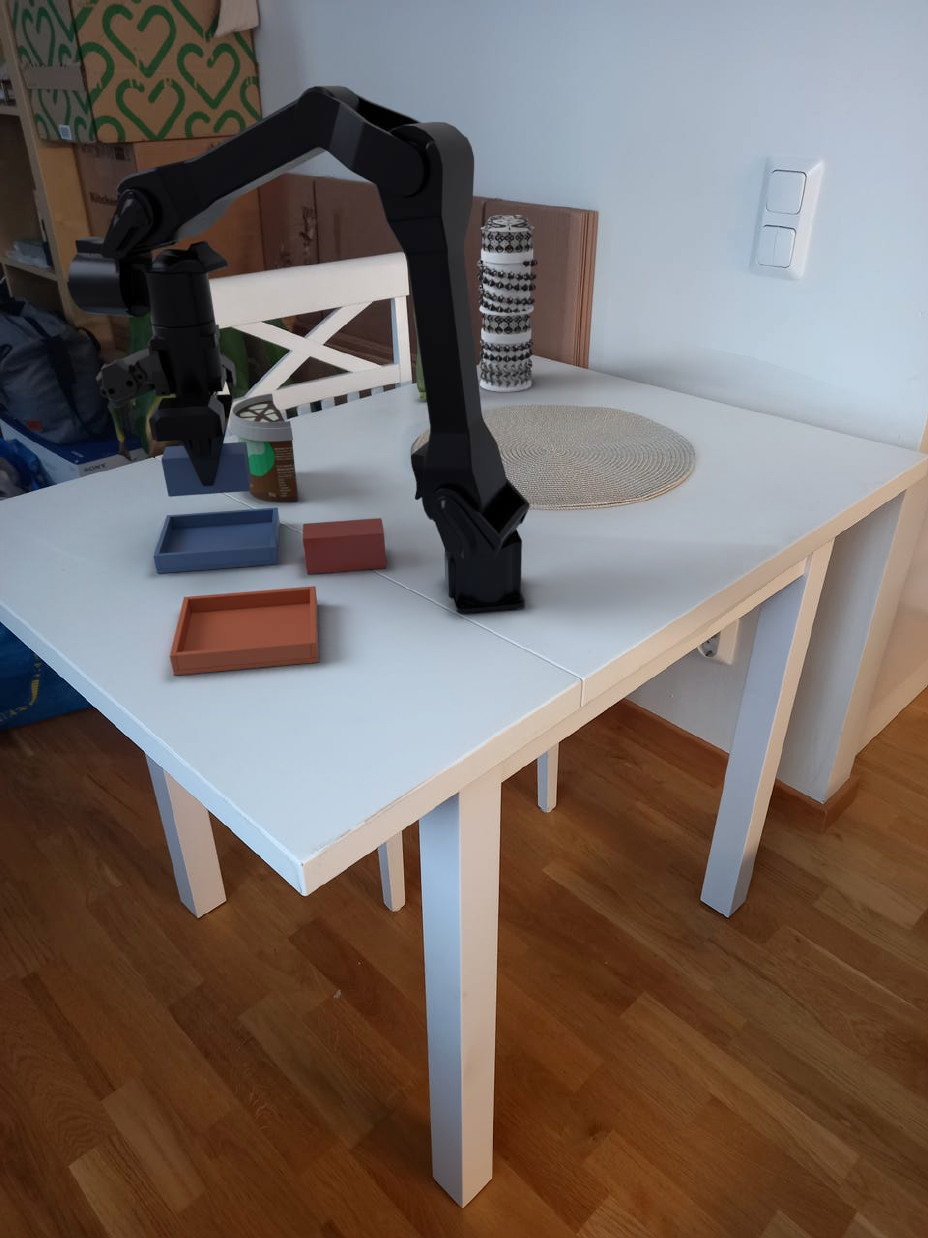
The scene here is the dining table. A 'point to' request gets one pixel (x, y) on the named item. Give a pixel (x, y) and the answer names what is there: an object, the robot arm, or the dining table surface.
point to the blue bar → (228, 477)
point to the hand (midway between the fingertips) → (210, 478)
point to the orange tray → (246, 631)
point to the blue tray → (218, 540)
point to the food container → (266, 448)
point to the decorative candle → (506, 303)
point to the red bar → (344, 546)
